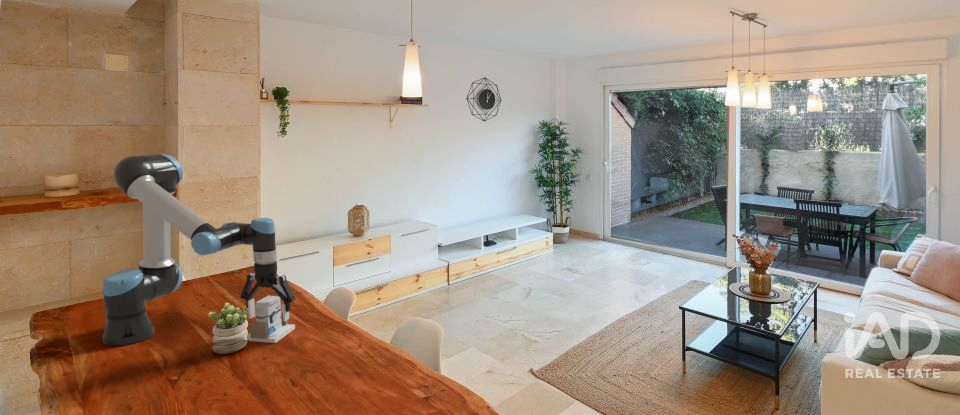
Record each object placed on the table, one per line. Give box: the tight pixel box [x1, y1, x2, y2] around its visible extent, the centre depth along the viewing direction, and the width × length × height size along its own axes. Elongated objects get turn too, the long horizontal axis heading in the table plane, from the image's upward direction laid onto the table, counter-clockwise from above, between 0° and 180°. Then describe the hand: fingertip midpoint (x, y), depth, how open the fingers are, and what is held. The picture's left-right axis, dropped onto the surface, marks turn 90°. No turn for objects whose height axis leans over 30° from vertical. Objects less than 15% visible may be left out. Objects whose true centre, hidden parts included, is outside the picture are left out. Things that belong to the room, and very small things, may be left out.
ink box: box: [254, 295, 282, 335], centre depth 179 cm, size 8×5×12 cm, turn 169°
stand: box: [247, 309, 296, 344], centre depth 180 cm, size 12×14×6 cm
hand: (269, 318), depth 180 cm, fingers open, 13 cm apart
